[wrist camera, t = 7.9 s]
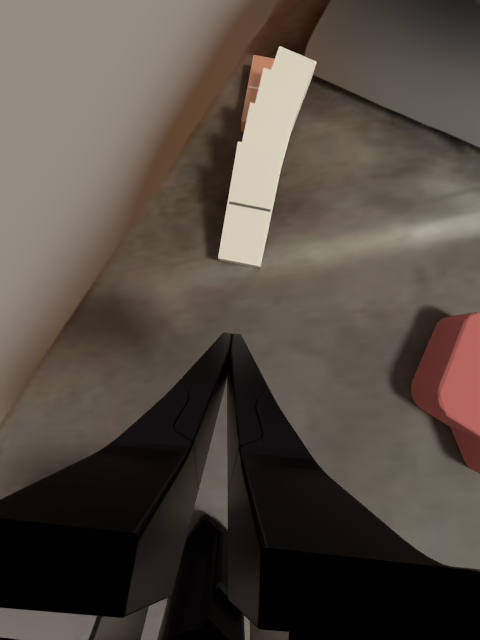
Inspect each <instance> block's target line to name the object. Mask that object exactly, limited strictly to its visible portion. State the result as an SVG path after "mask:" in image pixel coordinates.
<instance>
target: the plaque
mask: <svg viewBox="0 0 480 640" xmlns="http://www.w3.org/2000/svg"><path fill="white" fill-rule="evenodd" d="M411 395H412V398H413V401H414V402H415V403H416V404H417V406H418V407H419V408H421V409H422V410H424V411H425V412H427V413H429V414H430V415H432V416H433V417H435V418H436V419H438V420H440V421H441V422H443V423H444V424H446V425H448V426H449V427H450V428H451V430H452V433H453V435H454V437H455V440H456V442H457V445H458V447H459V450H460V452H461V454H462V457H463V459H464V462H465V464H466V465H467V467H468V468H470V469H472V470H474V471H476V472H478V473H480V313H478V312H475V313H469V314H463V315H456V316H450V317H445V318H442V319H441V320H440V321H438V323H437V324H436V326H435V328H434V331H433V333H432V335H431V338H430V340H429V342H428V345H427V347H426V350H425V352H424V354H423V357H422V359H421V361H420V364H419V366H418V368H417V371H416V373H415V376H414V378H413V380H412V384H411Z"/></svg>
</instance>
